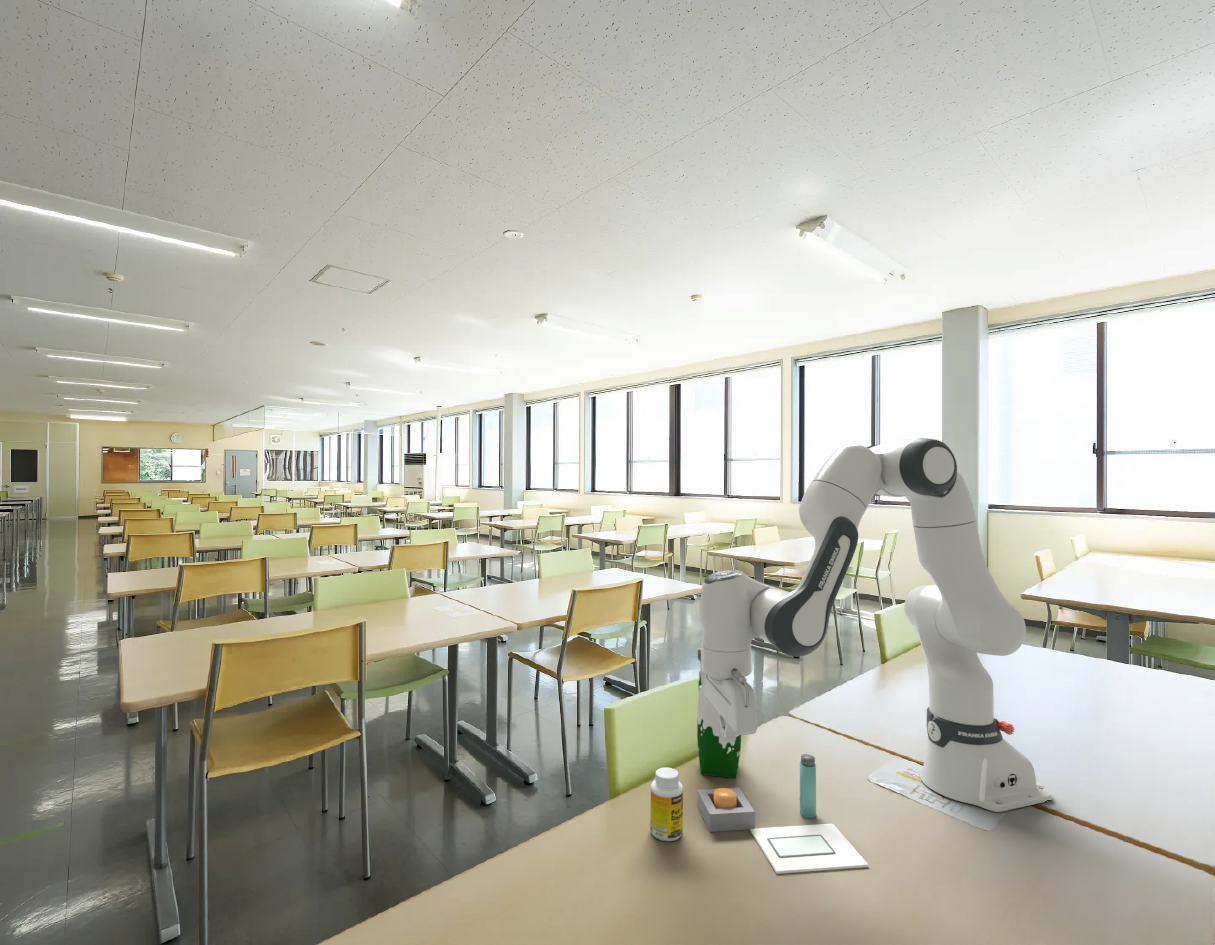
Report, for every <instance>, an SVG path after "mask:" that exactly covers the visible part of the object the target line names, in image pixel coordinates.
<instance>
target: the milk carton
mask: <svg viewBox="0 0 1215 945" xmlns="http://www.w3.org/2000/svg"><path fill="white" fill-rule="evenodd" d="M698 672H699V673H698V674H699V676H698V677H699V678H698V679H699V680H698V683H697V685H698V696H697V697H698V698H697V707H696V708H697V710H696V711H697V712H696V714H697V718H696V720H697V722H696V723H697V725H696V726H697V728H696V729H697V730H696V731H697V732H696V736H697V752H698V761H699V769H700V775H703V776H704V775H705V776H710V777H720V778H721V777H722V778H728V779H729V778H731V779H737V775H738V769H739V762H740V756H741V748H742V746H741V745H742V735H737V734H736V741H735V742H727V741H726V740H725V738H724V737H723V736H722V734H721V725H720V720H719V716H718V711H717V709H716V708H715V707H714V706H713V704H712V703H711V702H710V701H709V699H708V698H707V697H706V696H705V695H704V692H703V689H702V683H701V672H700V671H698Z"/></svg>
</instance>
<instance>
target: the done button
mask: <svg viewBox="0 0 1215 945" xmlns="http://www.w3.org/2000/svg"><path fill="white" fill-rule="evenodd" d="M727 788H728V787H721V788H719V787H718V788H715V789H716V790H715V791H714V806H715V808H716V809H723V808H736V797H737V795H736V793H735V792H734V791H733V790H731V789H727Z"/></svg>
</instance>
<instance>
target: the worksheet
mask: <svg viewBox="0 0 1215 945" xmlns="http://www.w3.org/2000/svg"><path fill="white" fill-rule="evenodd" d="M749 831H750V834H751V835H752V836H753V838H754V839H755V841H756V843H757V844H758V847H759V848H760V849H761V851H762V853H763V854H764V856H765V857H766V859H767V861H768V862H769V864H770V866H771V867H772V869H773V870H774V872H775V874H777V875H779V874H792V873H808V872H821V871H833V870H844V869H845V870H846V869H848V870H849V869H857V868H859V869H860V868H869V863H868V862H867V861H866V860H865V859H864V858H863V856H862V855H861V854H860V853H859V852H858V851H857V850H856V849H855V847H854V846H853V845H852V844H851V842H850V841H848V839H847V838H846V837H845V836H844V835H843V833H842V832H841V831H840V830H839V829H838V828H837V827H836V826H835V824H833V823H823V824H821V823H819V824H808V825H807V824H804V825H789V826H786V825H785V826H774V827H771V826H770V827H758V828H756V827H755V829H749Z"/></svg>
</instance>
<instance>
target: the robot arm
mask: <svg viewBox="0 0 1215 945" xmlns="http://www.w3.org/2000/svg"><path fill="white" fill-rule="evenodd" d="M874 496H875V497H881V496H883V497H891V498H892V497H894V498H901V497H902V498H903V497H905V498H906V499H907V500H908V502H909V505H910V510H911V519H912V525H913V526H912V527H913V532H914V533H913V534H914V538H915V544H916V545H915V546H916V551H917V556H918V560H919V563H920V566H921V567H923V569H924V570H925V571H926V572H927V573H928V574H929V575H930V576H931V578H932V580H933V581H934V583H935V584H923V585H922V584H921V585H918V586H916V587H915V588H912V589H911V590H910V591H909V593H908V594H907V596H906V597H905V601H904V612H905V616H906V618H907V620H908V621H909V622H910V623H911V625H912V627H913V628H914V629H915V632H916V634H917V637H918V639H919V642H920V645H921V648H922V651H923V654H924V656H923V657H924V658H925V659H924V660H925V662H926V667H927V676H928V677H927V678H928V705H929V706H928V707H927V708H926V731H927V732H926V733H927V737H928V738H927V746H926V753H925V758H924V761H923V762H924V763H923V766H922V769H921V772H920V775H919V777H920V780H921V781H922V782H923V784H924V785H925V786H926V787H927V788H929V789H930V790H933V791H934V792H935V793H938V794H940V795H942V796H944V797H946V798H949V799H951V800H954V801H957V802H958V801H959V802H961V803H965V804H970V805H973V806H978V807H980V808H983V809H984V810H985V809H986V810H988V811H991V812H995V813H1001V812H1006V811H1010V810H1015V809H1020V808H1024V807H1028V806H1033V805H1037V804H1038V805H1039V804H1041V803H1046V802H1045V801H1047V800H1051V801H1053V797H1052V793H1051V792H1050V790H1049V789H1048V788H1047V787H1045V785H1043V784H1042V783H1040V782H1039V781H1038V780H1037V779H1036V778H1037V776H1036V771H1035V768H1034V766H1033V764H1032V762H1031V760H1030V759H1029V758H1028V757H1027V756H1025V754H1024V753H1022V752H1021V751H1020V750H1018V749H1017V748H1016V747H1014V746H1013V745H1012V744H1011V743H1010V742H1009V741H1007V740H1006V739H1004V737H1003V734H1002V732H1003V733H1005V734H1006V735H1009V736H1010V735H1014V733H1015V727H1014V725H1013V724H1012V723H1009V722H1007V721H1006V720H1001V721H999V719H997V718H996V717H994V716H995V714H994V713H995V712H994V711H995V708H994V706H995V705H994V704H995V703H994V699H995V698H994V681H993V679H992V676H991V675H990V673H989V672H988V670H987V669H986V668H985V666H984V665H983V663H982V662H981V660H980V658H979V656H978V654H980V655H981V654H982V655H989V656H999V657H1000V656H1001V657H1005V656H1008V655H1009V656H1010V655H1012V654H1014V653H1016V652H1017V651H1018V650H1019V649H1020V648H1021V646H1022V645H1023V643H1024V642H1025V638H1026V636H1027V635H1026V634H1027V626H1026V622H1025V619H1024V617H1023V615H1022V613H1021V612H1020V611H1019V610H1018V609H1016V608H1015V607H1014V606H1013V605H1012V604H1011V603H1010V602H1009V601H1008V600H1007V599H1006V597H1005V596H1004V594H1003V593H1002V592H1001V590H1000V588H999V587H998V585H997V583H996V581H995V580H994V578H993V576H992V574H991V572H990V570H989V568H988V566H987V564H986V560H985V558H984V554H983V550H982V545H981V540H980V534H979V530H978V524H977V519H976V518H977V517H976V514H975V509H974V505H973V501H972V497H971V494H970V491H969V490H968V487H967V484H966V481H965V479H964V477H963V476H962V474H961V473H959V471H958V464H957V460H956V458H955V455H954V453H953V452H952V450H951V448H950V447H949V446H948V445H947V444H946V443H945V442H943V441H941V440H939V439H934V438H928V437H927V438H924V437H921V438H916V439H897V440H891V441H890V442H885V443H880V444H878V445H877V444H874V445H870V446H864V445H861V444H855V443H849V444H844V445H842V446H840V447H839V448H837V449H836V450H835V451H834V452H833V454H832V455H831V456H829V458H828V459H827V460H826V461H825V463H824V464H823V465H822V466H821V468H819V471H818V472H817V473H816V475H814V477H813V479H812V481H811V482H810V485H808V488H807V489H806V490H805V492H804V494H803V496H802V499H801V501H800V504H799V506H798V507H799V508H798V514H799V518H800V521H801V523H802V525H803V526H804V528H805V530H806V531H807V532H808V533H809V534H810V535H811V536H812V537H813V539H814V542H815V543H814V544H815V546H814V550H813V553H812V556H811V557H810V559H809V562H808V565H807V566H806V569H805V571H804V573H803V575H802V577H801V580H800V582H799V584H798V586H797V587H796V588H794V589H793V590H792V591H790V592H789V591H786V590H784V589H782V588H778V587H776V586H772V585H769V584H766V583H763V582H761V581H759V580H756V579H754V578H752V577H750V576H748V575H747V574H746V573H745V572H744V571H743V570H738V569H723V570H718V571H715V572H712V573H710V574H708V575H707V576H706V577H705V578H704V580H703V582H702V585H701V593H700V623H701V628H702V638H701V642H700V643H701V644H700V645H701V647H697V649H696V657H697V659H698V661H699V670H700V671H699V672H701V683H702V689H703V692H704V695H705V696H706V697H707V698H708V699H709V701H710V702H711V703H712V704H713V706H714V707H715V708H716V709H717V711H718V716H719V720H720V725H721V734H722V736H723V737H724V738H725V740H726V741H727V742H735V741H736V734H737V735H741V736H747V735H754V734H756V733H757V731H758V715H757V714H758V713H757V702H756V695H755V691H754V689H753V687H752V685H751V684H750V683H748V682H747V678H746V677H748V676H749V675H751V674H752V671H753V669H752V666H753V665H752V640H754V639H759V638H760V639H761V640H763V641H765V642H767V643H769V644H771V645H772V646H774V647H775V648H777V649H778V650H779V651H780V652H782V653H783V654H785V655H787V656H790V657H796V658H798V657H805V656H807V655H810V654H812V653H814V652H815V651H816V650H817V649H818V648H819V647H820V646H821V644H822V643H823V642H824V641H825V640H824V639H825V638H826V636H827V635H826V634H827V633H828V632H827V631H828V628H829V624H830V618H831V611H832V608H833V605H834V604H835V600H836V598H837V596H838V594H839V591H840V589H841V586H842V584H843V582H844V580H845V578H846V575H847V573H848V570H849V567H850V564H851V563H852V560H853V557H854V555H855V551H856V549H857V545H858V541H859V530H858V528H859V525H860V523H861V520H862V517H863V516H864V515H865V512H866V511H867V509H868V508H869V505H870V503H871V501H872V499H873V498H874ZM1047 802H1048V801H1047Z"/></svg>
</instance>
